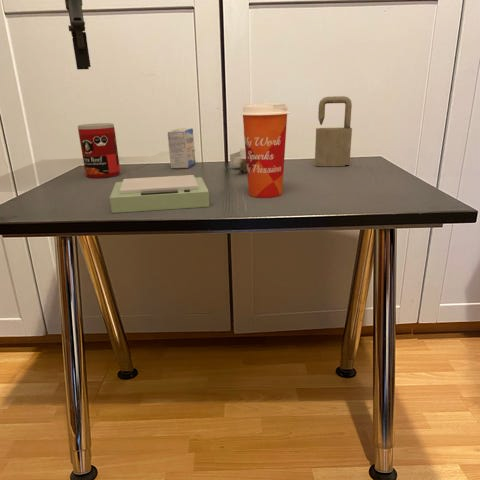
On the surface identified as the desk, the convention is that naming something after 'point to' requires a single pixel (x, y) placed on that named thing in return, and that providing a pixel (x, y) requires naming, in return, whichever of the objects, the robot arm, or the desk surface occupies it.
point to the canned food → (99, 150)
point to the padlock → (333, 137)
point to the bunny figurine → (239, 159)
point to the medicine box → (181, 148)
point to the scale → (159, 194)
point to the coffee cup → (265, 147)
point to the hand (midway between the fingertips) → (83, 68)
